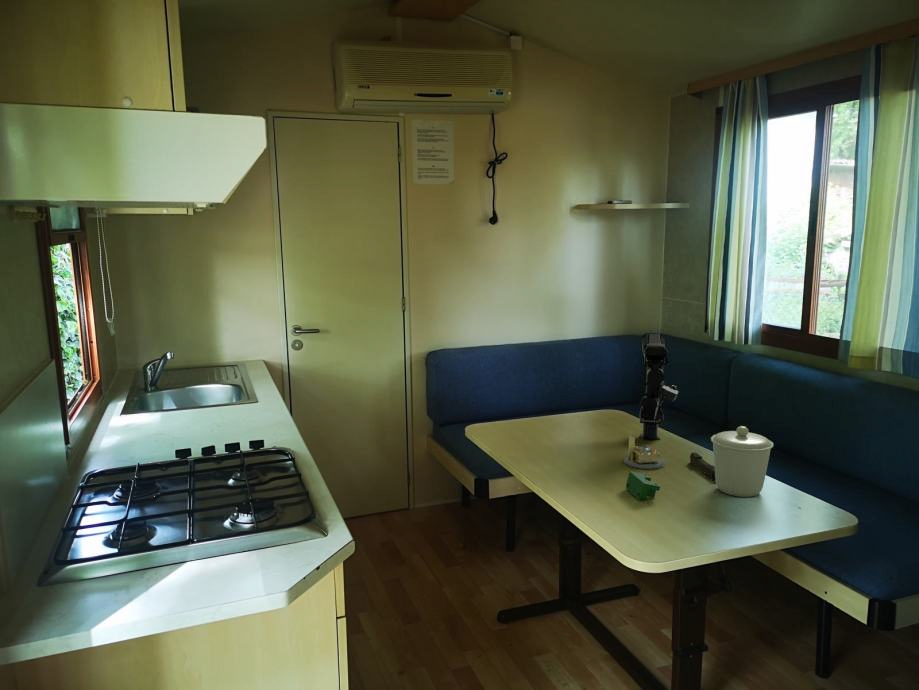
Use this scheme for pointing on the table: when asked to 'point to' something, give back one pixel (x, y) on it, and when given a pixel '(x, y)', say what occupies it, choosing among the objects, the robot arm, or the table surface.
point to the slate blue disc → (644, 465)
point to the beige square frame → (641, 453)
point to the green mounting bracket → (641, 486)
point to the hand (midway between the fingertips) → (652, 420)
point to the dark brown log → (702, 465)
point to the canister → (740, 461)
